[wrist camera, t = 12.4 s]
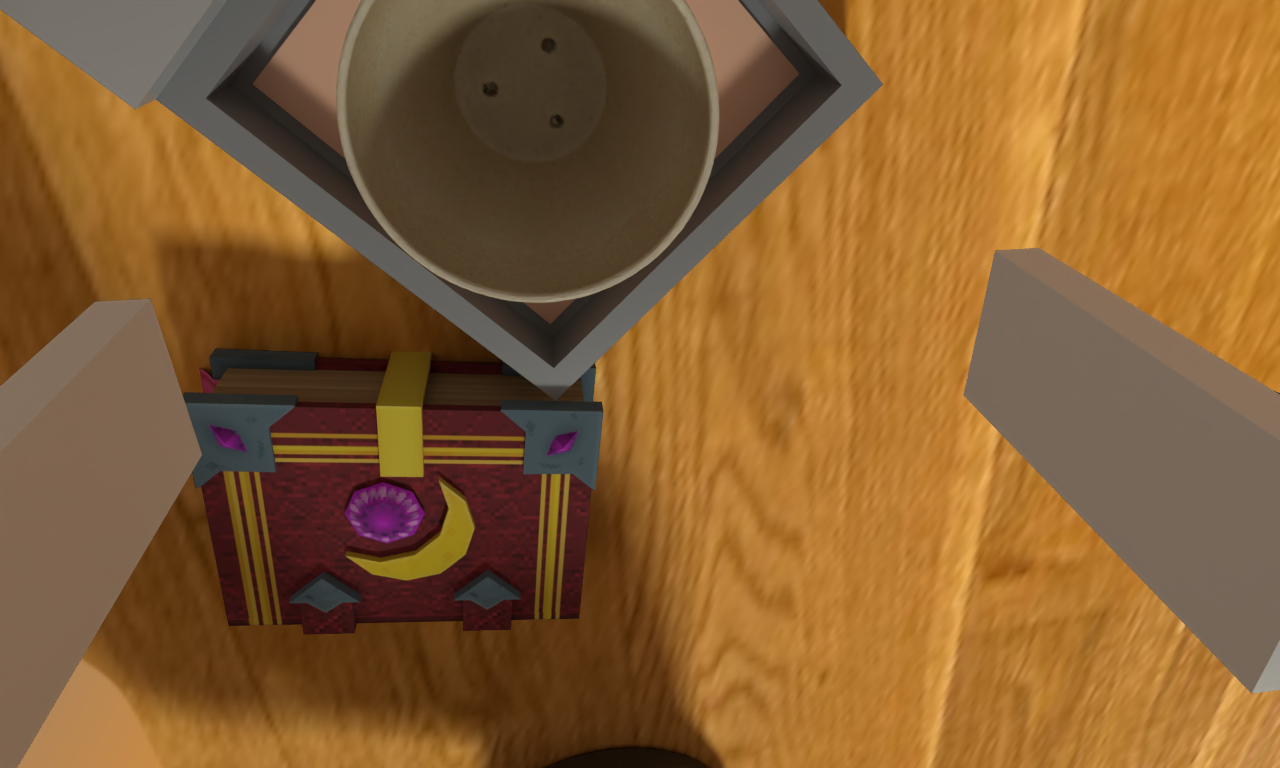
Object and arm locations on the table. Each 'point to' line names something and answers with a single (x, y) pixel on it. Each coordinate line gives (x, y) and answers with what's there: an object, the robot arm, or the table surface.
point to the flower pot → (529, 136)
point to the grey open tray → (307, 77)
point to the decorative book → (393, 489)
